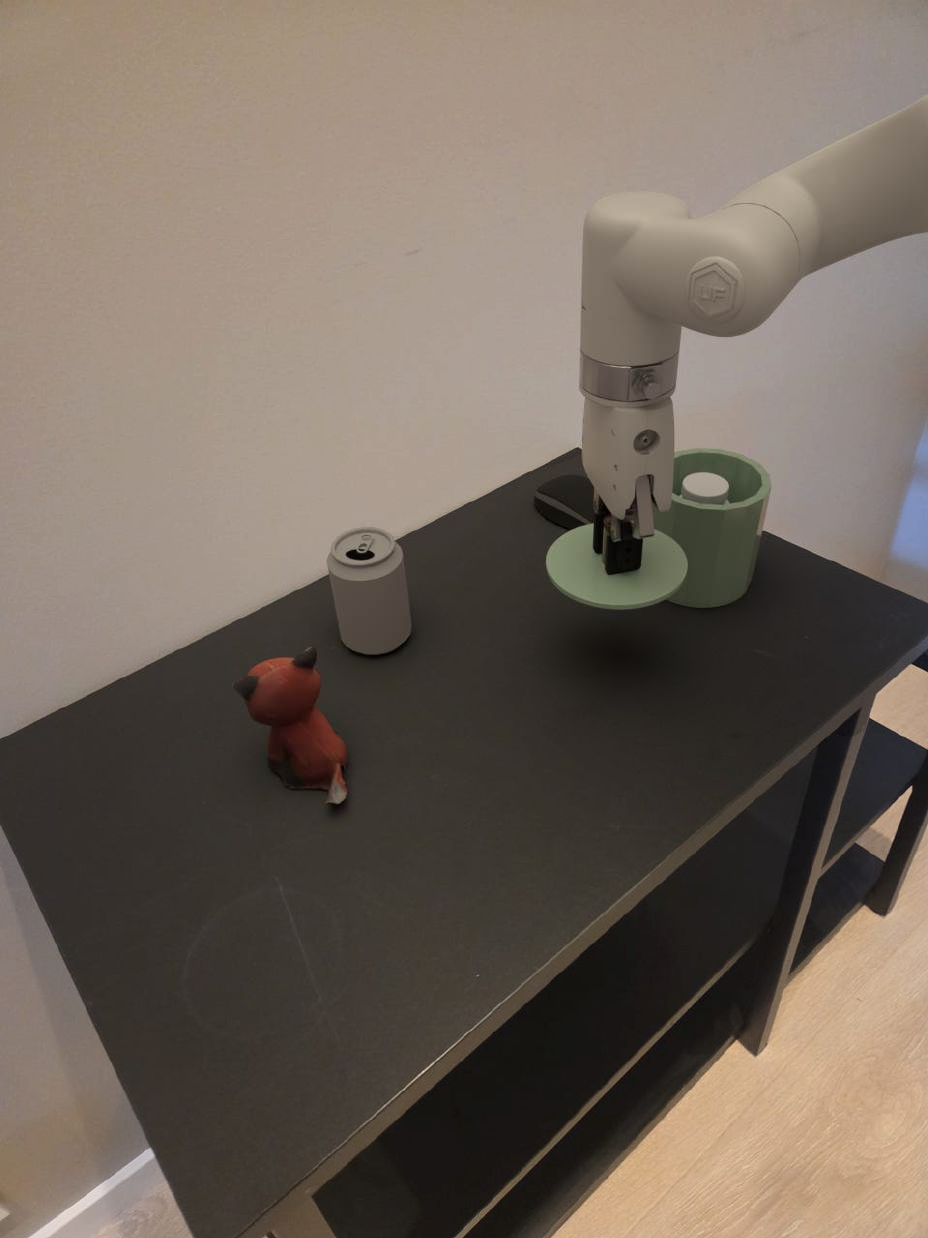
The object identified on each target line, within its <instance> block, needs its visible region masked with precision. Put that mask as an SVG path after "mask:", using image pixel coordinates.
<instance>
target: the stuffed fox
mask: <svg viewBox="0 0 928 1238" xmlns="http://www.w3.org/2000/svg"><path fill="white" fill-rule="evenodd" d="M317 660H318V654H317V648H316V646H313V645H312V646H309V647H307V648H306V649H305V650H304V651H302V652H300V653H298V654H297V655H296V656H295V658H294V657H276V658H271V659H267V660H263V661H261V662H259V663H257V664H256V665H255V666H253V667H252V668H251V669H250V670H249V671H248V673H247V675H244V676H240V677H238V678H236V680H235V681H234V682H233V681H232V684H231V689H233V690H234V691H235V692H237V693H238V695H239V696H240V697H241V698H242V699H243V702H244V704H245V706H246V708H247V711H248V714H249V716H250V718H251V720H253V721H254V722H256V723H259V724H260V725H264V726H269V727H271V728H270V732H269V735H268V741H267V763H266V764H265V765H266V766H267V768H270V769H271V770H272V771H273V772H275V773H276V775H278V776H279V777H280V779H281V781H282V784H283V786H284V787H287V788H288V789H290V790H293V789H297V790H306V789H310V790H324V791H327V794H326V799H325V802H324V804H325V805H326V804H333V805H334V804H335V805H339V804H341V803H342V802H343V801H345V800H346V798H347V795H348V791H349V790H348V788H347V786H346V785H345V784H346V782H345V780H344V778H343V771H342V767H343V769H344V770H346V764H347V762H348V759H347V756H348V755H347V754H348V753H347V748H346V744H345V741H344V739H343V738H342V737H341V736H340V735H339V734H338V732H337V731H335V730H334V728H333V727H332V726H331V723H329V721H328V720H327V718H326V717H325V715H324V714H323V713H322V712H321V710H320V709H319V708H318V707H316V703H317V701H318V698H319V695H320V692H321V689H322V680H321V676H320V675H319V672H317V669H315V667H314V666H315V665H316V664H317Z"/></svg>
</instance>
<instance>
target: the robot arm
mask: <svg viewBox="0 0 928 1238" xmlns="http://www.w3.org/2000/svg"><path fill="white" fill-rule="evenodd" d="M582 228H583V229H582V247H581V248H582V249H581V289H580V290H581V291H580V293H581V294H580V297H581V298H580V329H579V331H580V332H579V333H580V334H579V336H580V337H579V370H578V371H579V373H578V375H579V377H578V390H579V392H580V393H581V395H582V396H583V397H584V403H583V412H582V413H583V415H582V428H581V461H582V465H583V466H582V467H583V469H584V472H585V475H586V476H587V478H588V479H590V481H591V483H592V484H593V486H594V501H593V506H594V510H595V512H596V513H600V514H597V515H594V528H593V550H594V551H595V553H602V544H603V524H604V517H605V516H606V515H607V514H609V513H611V535H608V536H607V538H606V558H605V571H606V572H607V574H608V575H613V574H619V573H624V572H630V571H635V570H638V569H640V567H641V559H642V547H643V538H648V537H653V536H654V523H653V513H652V503H653V504H654V505H655V507H656V508H657V509H658V511H659V512H668V511H669V509H670V507H671V501H672V489H673V472H674V452H675V415H674V403H673V400H672V398H671V397H672V396H673V395H674V393H675V391H676V389H677V388H676V387H677V380H678V379H677V377H678V370H679V369H678V367H679V359H680V349H681V348H680V347H681V341H682V340H681V339H682V329H683V328H685V329H688V330H691V331H693V332H696V333H698V334H699V333H700V334H703V335H706V336H711V337H716V338H733V337H738V336H743V335H745V334H748V333H750V332H752V331H754V330H756V329H757V328H759V327H760V326H761V325H762V324H764V323H765V322H766V321H767V320H768V319H769V318H770V317H771V316H772V314H774V312H776V310H777V309H778V307H780V306H781V304H782V303H783V302H784V300H785V299H786V298H787V297H788V296H789V294H790V293H791V292H792V291H793V289H794V288H795V287H796V286H797V284H798V283H799V282H800V281H801V280H802V279H804V278H805V277H807V276H809V275H811V274H814V273H815V272H818V271H820V270H823V269H824V268H827V267H829V266H832V265H834V264H836V263H839V262H840V261H843V260H845V259H847V258H850V257H853V256H855V255H858V254H860V253H862V252H865V251H867V250H870V249H873V248H875V247H878V246H880V245H885V244H886V243H889V242H892V241H895V240H898V239H901V238H906V237H911V236H913V235H914V236H915V235H918V234H925V233H928V94H926V95H923V96H922V97H919V99H917V100H916V101H913V102H912V103H910V104H909V105H907V106H905V107H904V108H902V109H900V110H898V111H896V112H894V113H892V114H890V115H888V116H886V117H884V118H881V119H879V120H878V121H875V122H874V123H871V124H868V125H867V126H865V127H863V128H861V129H859V130H856V131H855V132H853V133H851V134H849V135H847V136H845V137H843V138H840V139H838V140H836V141H835V142H832V143H831V144H828V145H827V146H824V147H823V148H820V149H819V150H817V151H815V152H813V153H811V154H809V155H807V156H805V157H804V158H802V159H799V160H798V161H796V162H794V163H792V164H790V165H788V166H786V167H784V168H782V169H780V170H777V171H776V172H774V173H772V174H770V175H769V176H767V177H764V178H763V179H761V180H759V181H757V182H755V183H754V184H752V185H750V186H749V187H747V188H745V189H744V190H742V191H740V193H737V195H735V196H734V197H733V198H731V199H730V200H729V201H727V202H726V203H724V205H722V206H721V207H720V208H719V209H718V210H716V211H714V212H711V213H709V214H707V215H706V214H705V215H703V216H700V217H696V218H692V213H691V211H690V209H689V207H688V205H687V203H686V202H685V201H683V200H682V199H681V198H679V197H677V196H675V195H673V194H669V193H666V192H660V191H653V190H631V191H630V190H629V191H622V192H616V193H613V194H609V195H606V196H604V197H602V198H600V199H598V200H597V201H595V202H594V203H592V205H591V206H590V207H589V209H587V212H586V214H585V217H584V220H583V227H582ZM651 501H652V502H651ZM629 515H631V516H633V520H634V521H628V522H624V523H623V524H622V520H623V519H624V518H625V516H629Z"/></svg>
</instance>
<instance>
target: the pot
mask: <svg viewBox="0 0 928 1238" xmlns="http://www.w3.org/2000/svg"><path fill="white" fill-rule="evenodd" d="M700 472H705V473H712V474H716V475H719V476H721V477H723V478H724V479H725V480H726V481H727V482H728V484H729V490H728V495H727V501H728V502H729V503H730V504H725V505H716V504H701V503H697V502H694V501H690V500H686V499H683V498H681V497H679V496H680V495H681V489H682V483H683V480H684V479H685V478H686V477H687V476H688V475H690V474H693V473H700ZM772 488H773V487H772V481H771V475H770V473H769V471H767V470H766V469H765V468H764V467H763V466H762V465H761V464H760V462H758V461H756V460H754V459H752V458H749V457H748V456H746V455H744V454H742V453H738V452H734V451H730V450H726V449H722V448H707V447H705V448H704V447H702V448H701V447H695V448H689V449H683V450H677V451H674V472H673V489H672V501H671V507H670V509H669V511H668V512H659V511H658V509H657V508H656V507H655V505H654V504H653V503H652V513H653V523H654V529H655V530H658V531H660V532H662V533H664V534H666V535H667V536H669V537H670V538H672V539H673V540H674V541H675V542H676V543H678V545H679V546H680V547H681V548H682V550H683V551H684V553H685V555H686V558H687V562H688V569H687V576H686V579H685V581H684V583H683V585H682V586H681V587H680V588H679V590H678V591H677V592H675V593H674V594H673V595H672V596H670V597H669V598H667V599H665V600H664V601H668V602H670V603H673V604H676V605H679V606H683V607H688V608H697V609H709V608H710V609H711V608H717V607H722V606H727V605H729V604H732V603H734V602H736V601H738V600H739V599H741V598H742V597H743V596H744V595H745V594H746V593H747V591H748V590H749V589H750V585H751V583H752V581H753V576H754V571H755V567H756V563H757V557H758V552H759V549H760V543H761V539H762V533H763V530H764V529H763V528H764V524H765V520H766V515H767V510H768V506H769V501H770V496H771V492H772ZM651 502H652V501H651Z"/></svg>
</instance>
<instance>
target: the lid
mask: <svg viewBox="0 0 928 1238" xmlns="http://www.w3.org/2000/svg"><path fill="white" fill-rule="evenodd" d="M628 521H634V516H633V515H629V516H625V518H624V519H623V520H622V524H623V523H624V522H628ZM593 528H594V523H593V524H588V525H584V526H581V527H578V528H575V529H573V530H569V531H567V532H565V533H564V534H562V535H561V536H559V537H558V538H556V540H555V541H554V542H553V543H552V544H551V545H550V547H549V549H548V551H547V553H546V557H545V570H546V574H547V577H548V579H549V581H550V582H551V584H552V585H553V586H554V587H555V588H556V589H557V590H558V591H559V592H560V593H561V594H562V595H565V596H566V597H568V598H569V599H571V600H573V601H575V602H578V603H581V604H583V605H586V606H589V607H592V608H599V609H604V610H614V611H615V610H617V611H624V610H636V609H641V608H646V607H650V606H653V605H656V604H659V603H662V602H663V601H666V600H665V599H667V598H669V597H670V596H672V595H673V594H674V593H675V592H677V591H678V590H679V588H680V587H681V586H682V585H683V583H684V581H685V579H686V576H687V569H688V562H687V558H686V555H685V553H684V551H683V550H682V548H681V547H680V546H679V545H678V543H676V542H675V541H674V540H673V539H672V538H670V537H669V536H667V535H666V534H664V533H662V532H660V531H658V530H655V529H654V536H653V537H648V538H643V547H642V559H641V567H640V569H638V570H635V571H630V572H624V573H619V574H613V575H608V574H607V572H606V571H605V558H606V538H607V536H608V535H611V513H609V514H607V515H606V516H605V517H604V524H603V544H602V553H595V551H594V550H593Z"/></svg>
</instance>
